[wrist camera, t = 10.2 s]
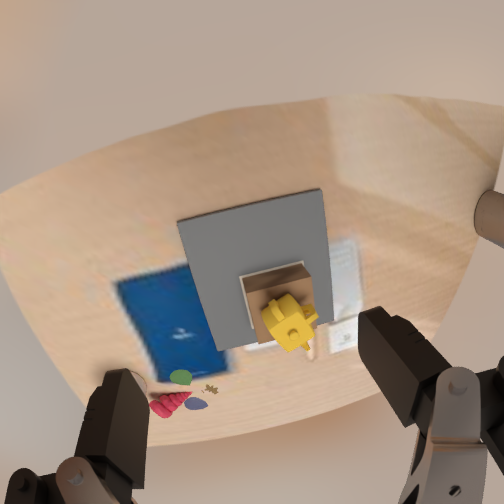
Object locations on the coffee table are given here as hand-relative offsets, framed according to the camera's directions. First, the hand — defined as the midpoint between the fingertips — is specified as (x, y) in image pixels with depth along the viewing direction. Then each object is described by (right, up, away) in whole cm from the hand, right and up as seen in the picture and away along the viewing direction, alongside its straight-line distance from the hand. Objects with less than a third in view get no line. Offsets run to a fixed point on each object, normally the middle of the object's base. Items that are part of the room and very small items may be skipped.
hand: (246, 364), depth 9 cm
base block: (+3, -2, +31) cm, 31 cm away
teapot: (+5, -3, +28) cm, 28 cm away
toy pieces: (-11, -20, +38) cm, 44 cm away
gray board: (+2, +1, +31) cm, 31 cm away
